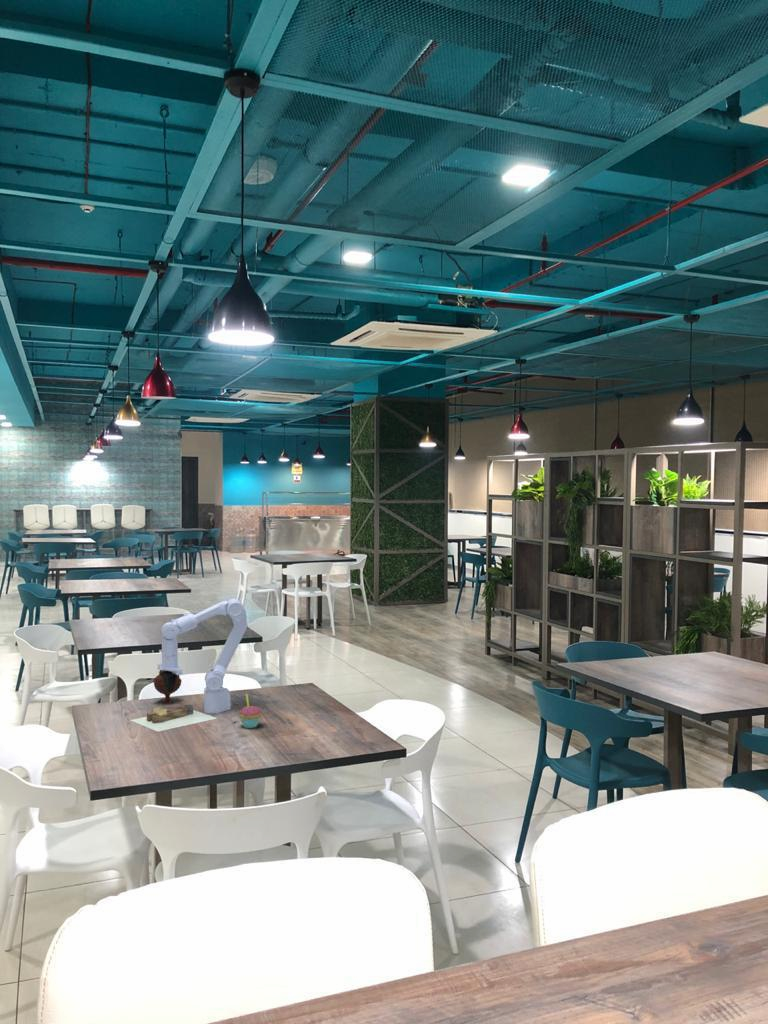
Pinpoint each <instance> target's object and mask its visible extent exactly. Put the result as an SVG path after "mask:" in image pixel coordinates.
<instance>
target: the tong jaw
mask: <svg viewBox="0 0 768 1024" xmlns="http://www.w3.org/2000/svg"><path fill="white" fill-rule="evenodd" d="M186 715H188V709H186V708H184V707H183V709H178V710H174V711H170V712H167V714H165V715H161V716H158V715H153V716H152V722H153V723H157V722H162V721H166V720H170V719H174V718H178V717H182V716H186Z"/></svg>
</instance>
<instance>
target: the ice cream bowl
mask: <svg viewBox="0 0 768 1024" xmlns="http://www.w3.org/2000/svg"><path fill="white" fill-rule="evenodd" d="M162 672H164V670H159V671H158V675H157V676H155V677H154V680H153V686H154V689H155V690H156V691H157V692H158V693H160V694H161V695H164V697H165V700H163V701H162V703H163V704H171V703H173V700H171V698H170V697H171V695H172V694H174V693H175V692H177V691H178V690H180V687H181V685H182V678H180V677H181V676H180V675H179V676H178V677H177V679H176V682H175V686H174V690H173V691H171V692H167V691H166V687H165V683H164V680H163V678H162V676H161V673H162Z"/></svg>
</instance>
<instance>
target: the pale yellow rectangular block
mask: <svg viewBox="0 0 768 1024" xmlns="http://www.w3.org/2000/svg"><path fill="white" fill-rule="evenodd" d="M167 710H168V709H167V707H163V706H158V707H154V708H153V712H154V714H156V715H158V716H161V715H165V714H167Z"/></svg>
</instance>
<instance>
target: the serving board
mask: <svg viewBox="0 0 768 1024" xmlns="http://www.w3.org/2000/svg"><path fill="white" fill-rule="evenodd" d="M215 719H218V718H217V717H215V716H212V715H209V714H207V713H205V712H204V713H203V712H201V711H199V710H195V709H193V714H191V715H186V716H182V717H178V718H174V719H170V720H166V721H162V722H157V723H153V722H152V721H150V722H149V721H147V716H144V717H138V718H135V719H134V718H133V719H130V721H131V722H133V723H136V724H138V725H141V726H143V727H145V728H147V729H150V730H152V731H155V732H163V731H167V730H171V729H175V728H181V727H186V726H190V725H194V724H199V723H204V722H207V721H212V720H215Z"/></svg>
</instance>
